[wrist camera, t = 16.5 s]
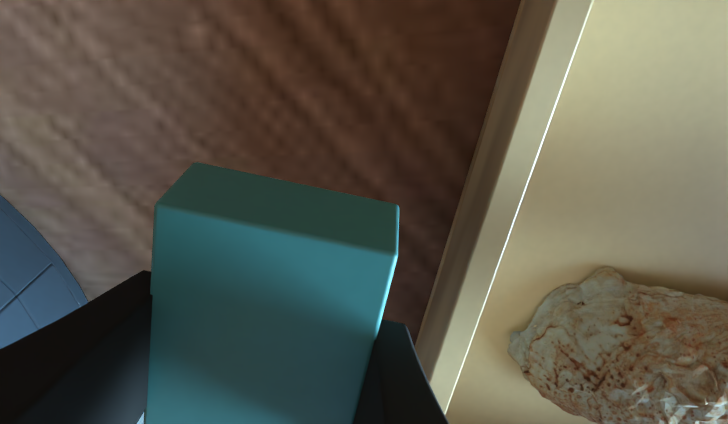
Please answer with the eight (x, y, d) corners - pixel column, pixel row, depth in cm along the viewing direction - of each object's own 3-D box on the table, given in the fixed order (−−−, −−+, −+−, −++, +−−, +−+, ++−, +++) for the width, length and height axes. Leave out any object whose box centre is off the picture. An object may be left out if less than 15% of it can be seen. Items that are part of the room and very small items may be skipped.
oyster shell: (772, 380, 22) (861, 294, 18) (821, 483, 19) (937, 405, 15) (491, 348, 22) (527, 257, 18) (499, 447, 19) (544, 360, 16)
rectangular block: (343, 430, 14) (333, 505, 12) (174, 397, 14) (139, 467, 12) (400, 203, 11) (398, 254, 9) (193, 159, 11) (152, 203, 9)
